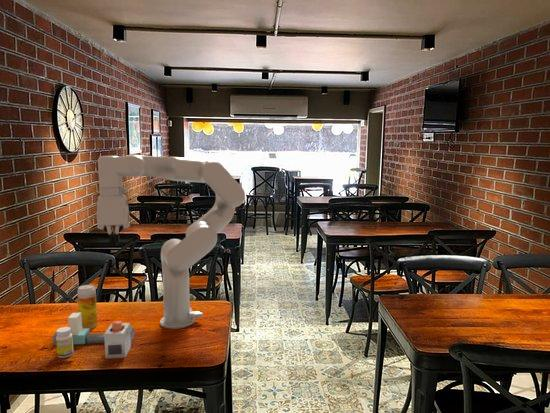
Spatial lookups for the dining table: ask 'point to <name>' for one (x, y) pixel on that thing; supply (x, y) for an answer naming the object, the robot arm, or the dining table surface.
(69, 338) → the supplement bottle
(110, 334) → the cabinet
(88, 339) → the rail
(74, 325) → the carriage
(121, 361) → the dining table surface
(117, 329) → the button
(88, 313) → the beer can
